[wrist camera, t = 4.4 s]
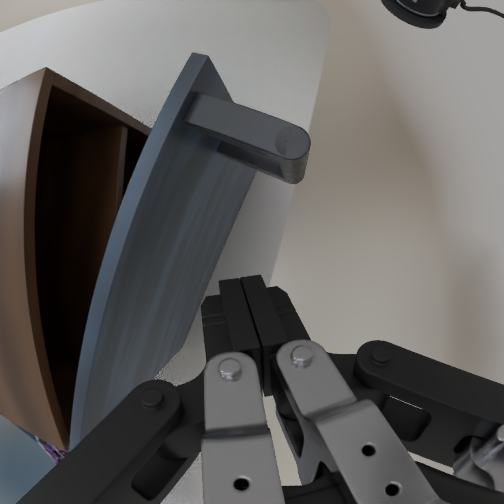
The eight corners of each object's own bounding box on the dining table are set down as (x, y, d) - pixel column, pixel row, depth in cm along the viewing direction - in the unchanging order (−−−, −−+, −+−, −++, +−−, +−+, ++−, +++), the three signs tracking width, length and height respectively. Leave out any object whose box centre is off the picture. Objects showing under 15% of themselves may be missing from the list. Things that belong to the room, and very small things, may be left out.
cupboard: (177, 144, 36) (46, 66, 13) (175, 344, 39) (65, 451, 15) (71, 157, 39) (-59, 128, 15) (73, 325, 41) (-44, 381, 18)
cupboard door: (307, 177, 35) (331, 94, 11) (221, 366, 38) (148, 499, 15) (255, 155, 35) (192, 51, 12) (176, 343, 39) (69, 450, 15)
